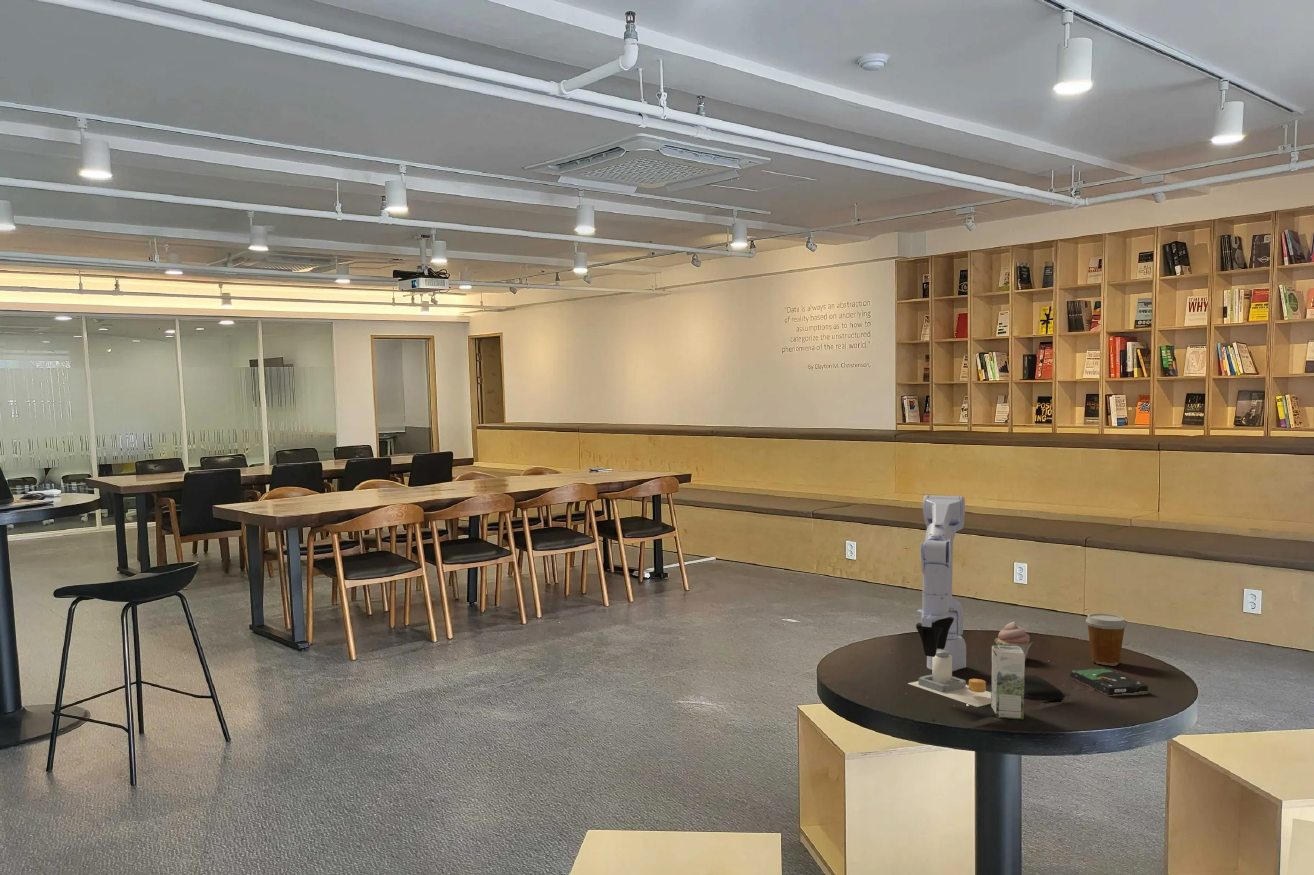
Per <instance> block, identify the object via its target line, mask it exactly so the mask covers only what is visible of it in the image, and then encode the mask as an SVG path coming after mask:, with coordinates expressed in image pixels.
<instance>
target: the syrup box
mask: <svg viewBox="0 0 1314 875" xmlns="http://www.w3.org/2000/svg"><path fill="white" fill-rule="evenodd" d="M1025 663H1026V660H1025V654H1024V653H1023V651H1022V649H1021V648H1020V647H1018V646H997V645H994V644H993V645H991V675H990V676H991V679H990V680H991V684H990V685H991V689H990V692H991V704H990V707H991V709H992V710H993V712H994V717H995V718H997V719H1010V720H1024V715H1025V714H1024V709H1025V708H1024V707H1025V705H1024V704H1025V698H1024V675H1025V667H1026V666H1025Z"/></svg>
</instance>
